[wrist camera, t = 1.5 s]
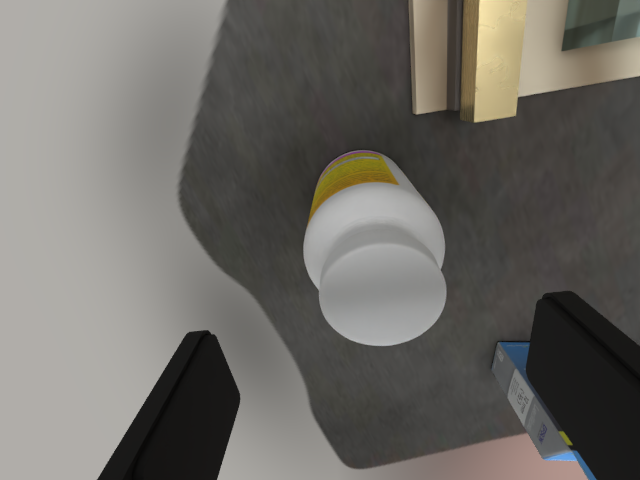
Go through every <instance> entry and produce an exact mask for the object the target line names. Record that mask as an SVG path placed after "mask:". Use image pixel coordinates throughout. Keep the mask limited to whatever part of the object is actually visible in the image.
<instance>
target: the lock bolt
mask: <svg viewBox="0 0 640 480" xmlns="http://www.w3.org/2000/svg"><path fill="white" fill-rule="evenodd" d="M526 9H527V0H463V31H462V68H461V105H460V120H464V121H468V122H473V123H476V122H482V121H488V120H494V119H500V118H506V117H512V116H516V109H517V99H518V89H519V79H520V69H521V59H522V49H523V39H524V29H525V19H526Z"/></svg>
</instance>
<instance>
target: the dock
mask: <svg viewBox="0 0 640 480" xmlns="http://www.w3.org/2000/svg"><path fill="white" fill-rule="evenodd" d="M409 25H410V54H411V82H412V110H413V114H416V115H417V114H423V113H429V112H434V111H440V110H446V109H447V110H454V111H456V110H460V105H461V68H462V31H463V0H409ZM636 76H640V0H527V9H526V19H525V29H524V39H523V49H522V59H521V69H520V79H519V89H518V97H521V96H527V95H532V94H538V93H544V92H550V91H556V90H561V89H567V88H573V87H579V86H584V85H590V84H596V83H602V82H607V81H613V80H619V79H625V78H630V77H636Z"/></svg>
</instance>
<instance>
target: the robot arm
mask: <svg viewBox="0 0 640 480" xmlns="http://www.w3.org/2000/svg"><path fill="white" fill-rule="evenodd" d="M526 374H527V377H528V380H529V381H530V383H531V385H532V386H533V388H534V389H535V390H536V392H537V393H538V395H539V396H540V398H541V399H542V401H543V402H544V404H545V405H546V407H547V408H548V409H549V411H550V412H551V414H552V415H553V417H554V418H555V420H556V421H557V423H558V424H559V425H560V427H561V428H562V430H563V431H564V433H565V434H566V436H567V437H568V439H569V440H570V442H571V443H572V444H573V446H574V447H575V449H576V450H577V452H578V453H579V455H580V456H581V458H582V459H583V461H584V462H585V463H586V465H587V466H588V468H589V469H590V471H591V472H592V474H593V475H594V477H595V478H596V479H597V480H640V346H639V345H637V344H636V343H635V342H634V341H633V340H631V339H630V338H629V337H628V336H626V335H625V334H624V333H623V332H622V331H620V330H619V329H618V328H617V327H615V326H614V325H613V324H612V323H611V322H609V321H608V320H607V319H606V318H604V317H603V316H602V315H601V314H600V313H598V312H597V311H596V310H595V309H594V308H592V307H591V306H590V305H589V304H587V303H586V302H585V301H584V300H583V299H581V298H580V297H579V296H578V295H576V294H575V293H573V292H572V291H562V292H553V293H546V294H544V295H543V297H542V299H540V300H538V301H537V304H536V309H535V315H534V321H533V327H532V333H531V339H530V345H529V351H528V357H527V363H526ZM239 404H240V393H239V390H238V388H237V385H236V383H235V381H234V378H233V376H232V373H231V371H230V369H229V366H228V364H227V362H226V359H225V357H224V354H223V352H222V349H221V347H220V344H219V342H218V340H217V337H216V336H215V335H214V334H213V335H211V333H210V332H209V331H208V330H204V331H194V332H189V333H187V334H186V336H185V337H184V339H183V340H182V342H181V344H180V345H179V347H178V349H177V350H176V352H175V353H174V355H173V357H172V358H171V360H170V362H169V363H168V365H167V367H166V368H165V370H164V371H163V373H162V375H161V376H160V378H159V380H158V381H157V383H156V385H155V386H154V388H153V389H152V391H151V393H150V394H149V396H148V397H147V399H146V401H145V402H144V404H143V406H142V407H141V409H140V411H139V412H138V414H137V416H136V417H135V419H134V420H133V422H132V424H131V425H130V427H129V429H128V430H127V432H126V434H125V435H124V437H123V438H122V440H121V442H120V443H119V445H118V447H117V448H116V450H115V451H114V453H113V455H112V456H111V458H110V460H109V461H108V463H107V464H106V466H105V468H104V470H103V471H102V473H101V474H100V476H99V478H98V479H97V480H217V478H218V474H219V471H220V468H221V464H222V461H223V458H224V454H225V451H226V448H227V444H228V441H229V438H230V434H231V431H232V428H233V425H234V421H235V418H236V414H237V411H238V408H239Z"/></svg>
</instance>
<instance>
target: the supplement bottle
mask: <svg viewBox="0 0 640 480" xmlns="http://www.w3.org/2000/svg"><path fill="white" fill-rule="evenodd" d="M303 252H304V261H305V265H306V269H307V272H308V274H309V276H310V278H311V280H312V281H313V283H314V284H315V286H316V287H317V288H318V289H319V302H320V306H321V310H322V312H323V315H324V317H325V318H326V320H327V321H328V323H329V324H330V325H331V326H332V327H333V328H334V329H335V330H336V331H337V332H338V333H340V334H341V335H343V336H344V337H346V338H348V339H350V340H352V341H355V342H358V343H362V344H366V345H374V346H388V345H395V344H399V343H403V342H406V341H409V340H411V339H414V338H416V337H417V336H419V335H421V334H422V333H424V332H425V331H426V330H428V329H429V328H430V327H431V326H432V325H433V324H434V323H435V322H436V320H437V319H438V318H439V316H440V314H441V313H442V310H443V308H444V305H445V301H446V283H445V279H444V276H443V274H442V272H441V267H442V264H443V260H444V254H445V240H444V234H443V230H442V227H441V224H440V222H439V220H438V218H437V216H436V215H435V213H434V212H433V210H432V209H431V208H430V206H429V205H428V204H427V202H426V201H425V200H424V199H423V197H422V196H421V195H420V194H419V193H418V191H417V190H416V189H415V187H414V186H413V185H412V183H411V182H410V181H409V180H408V178H407V177H406V176H405V174H404V173H403V172H402V171H401V169H400V168H399V167H398V166H397V165H396V164H395V163H394V162H393V161H392V160H391V159H390V158H388V157H387V156H385V155H383V154H380V153H378V152H374V151H369V150H357V151H352V152H348V153H345V154H343V155H341V156H339V157H338V158H336V159H334V160H333V161H332V162H331V163H330V164H329V165H328V166H327V167H326V168H325V170H324V171H323V172H322V174H321V176H320V178H319V180H318V183H317V186H316V190H315V194H314V199H313V203H312V208H311V212H310V216H309V220H308V225H307V229H306V233H305V239H304V246H303Z"/></svg>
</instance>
